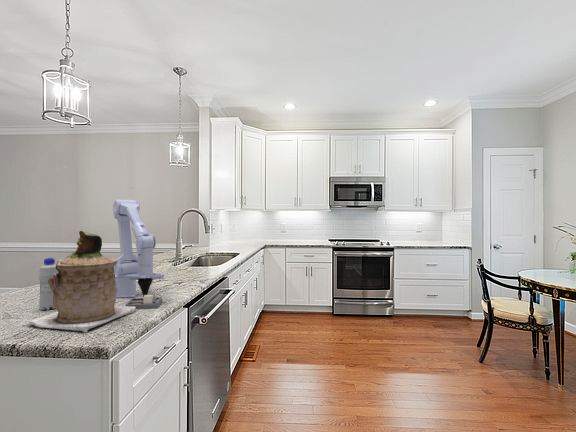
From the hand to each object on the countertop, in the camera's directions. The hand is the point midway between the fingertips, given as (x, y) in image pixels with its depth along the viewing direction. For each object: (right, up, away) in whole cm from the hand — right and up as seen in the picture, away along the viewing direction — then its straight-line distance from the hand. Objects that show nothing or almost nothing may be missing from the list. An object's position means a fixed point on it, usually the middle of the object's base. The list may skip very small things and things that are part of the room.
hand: (145, 296), depth 132 cm
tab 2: (+3, -2, +1) cm, 3 cm away
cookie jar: (-13, -3, -19) cm, 23 cm away
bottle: (-34, -3, -8) cm, 35 cm away
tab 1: (+3, -2, -5) cm, 6 cm away
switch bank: (+1, -3, -3) cm, 4 cm away
